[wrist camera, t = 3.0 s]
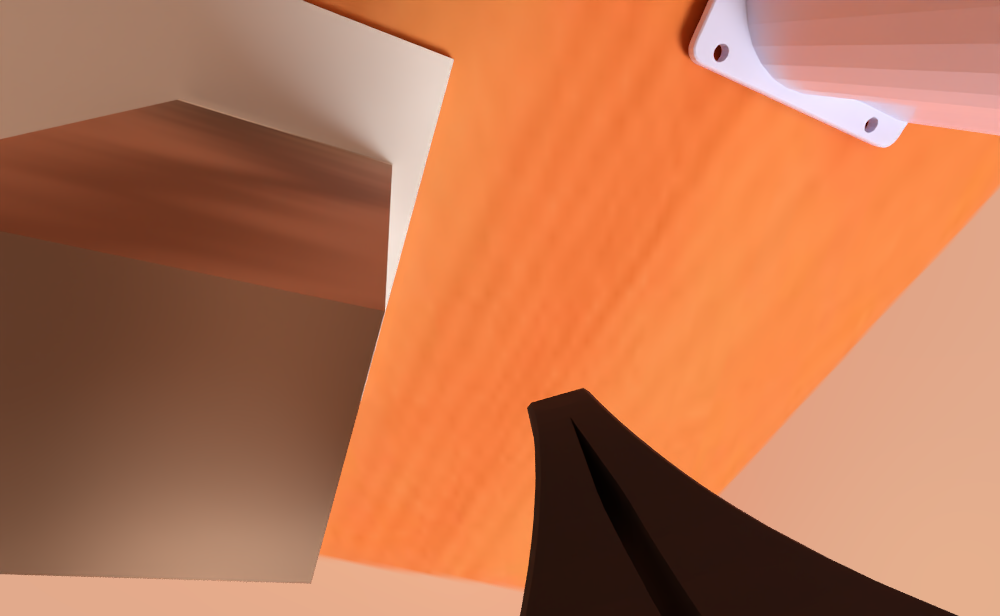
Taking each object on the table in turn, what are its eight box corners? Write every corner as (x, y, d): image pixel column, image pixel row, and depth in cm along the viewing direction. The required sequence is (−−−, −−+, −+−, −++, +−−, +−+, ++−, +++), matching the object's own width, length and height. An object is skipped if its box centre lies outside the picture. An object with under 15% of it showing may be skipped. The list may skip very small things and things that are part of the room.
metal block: (392, 163, 15) (384, 310, 7) (353, 322, 18) (310, 583, 9) (179, 99, 13) (-213, 186, 5) (168, 286, 16) (-110, 570, 7)
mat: (452, 59, 15) (454, 59, 14) (361, 396, 20) (360, 400, 19) (-557, -334, 9) (-588, -346, 8) (-313, 294, 14) (-326, 299, 13)
